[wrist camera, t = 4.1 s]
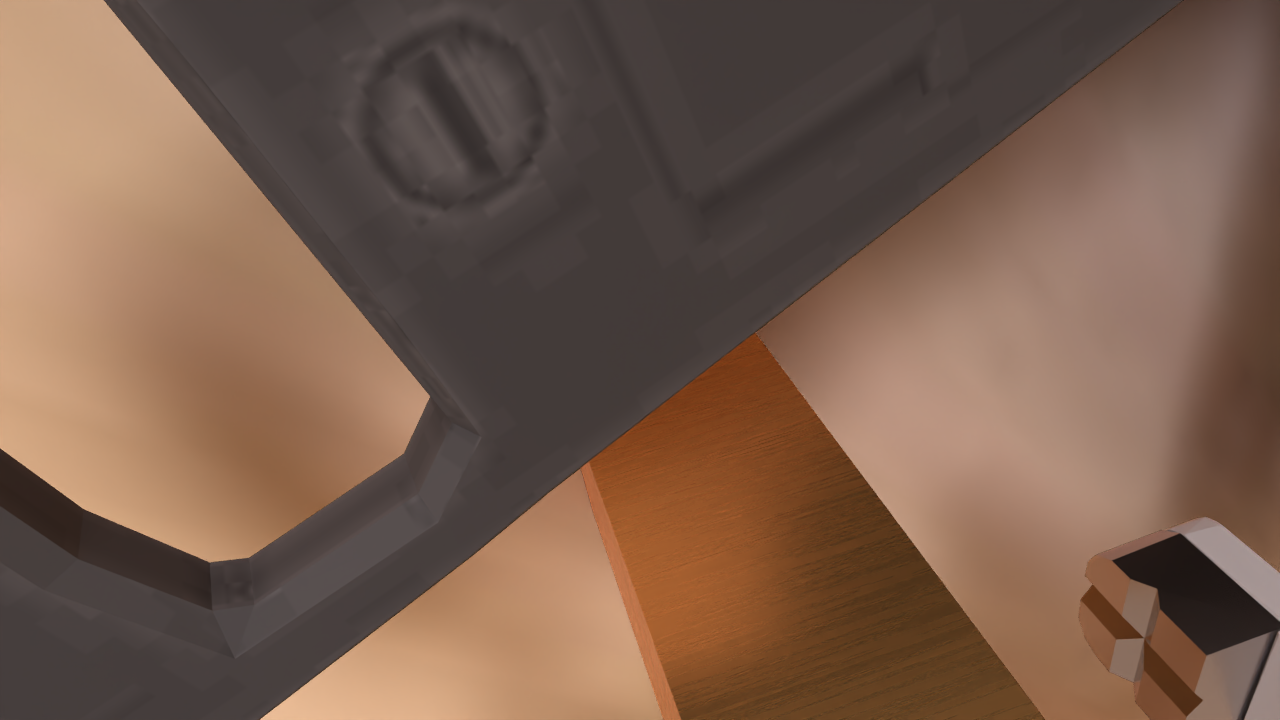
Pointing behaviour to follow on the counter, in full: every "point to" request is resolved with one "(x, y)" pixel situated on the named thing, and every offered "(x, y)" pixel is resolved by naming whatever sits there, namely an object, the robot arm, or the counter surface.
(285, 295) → the counter surface
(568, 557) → the counter surface
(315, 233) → the zipper pull
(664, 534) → the orange wooden block
